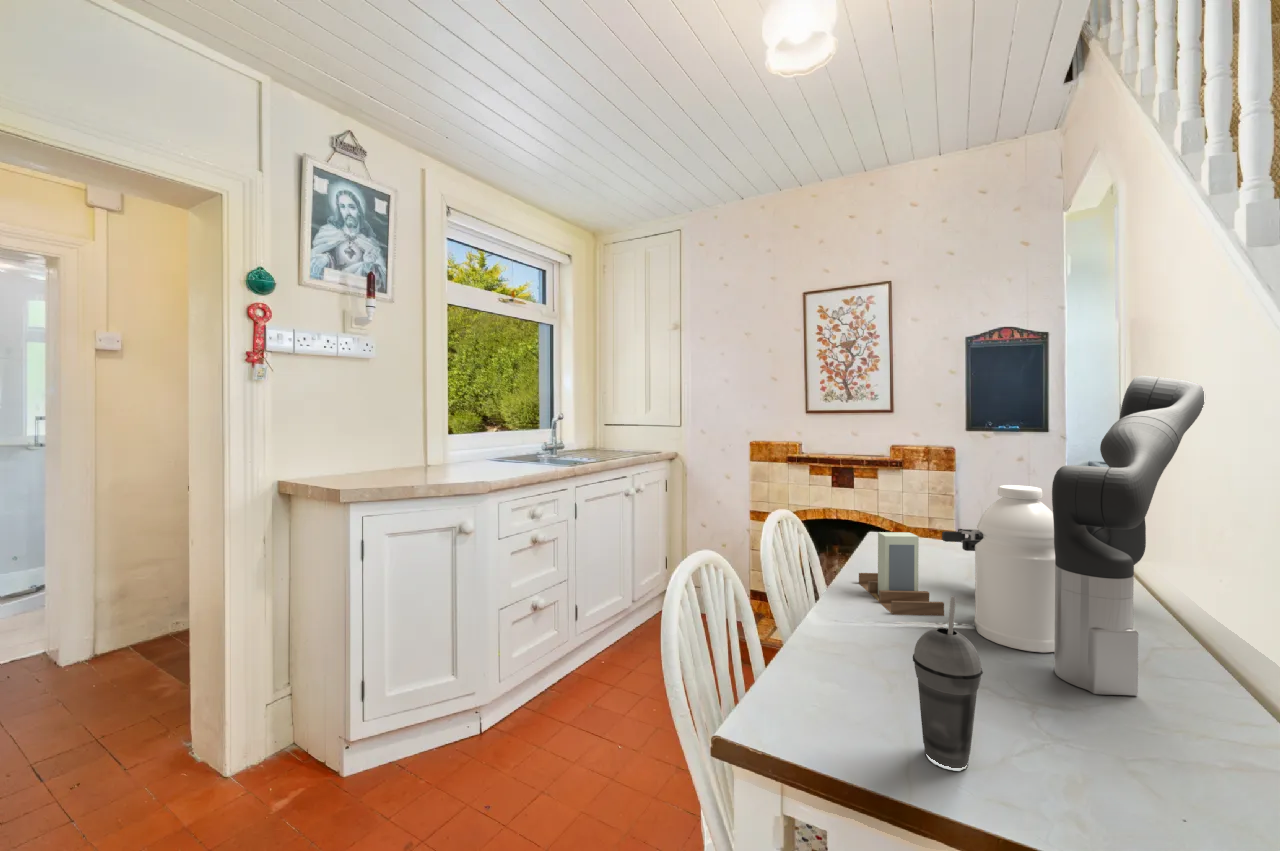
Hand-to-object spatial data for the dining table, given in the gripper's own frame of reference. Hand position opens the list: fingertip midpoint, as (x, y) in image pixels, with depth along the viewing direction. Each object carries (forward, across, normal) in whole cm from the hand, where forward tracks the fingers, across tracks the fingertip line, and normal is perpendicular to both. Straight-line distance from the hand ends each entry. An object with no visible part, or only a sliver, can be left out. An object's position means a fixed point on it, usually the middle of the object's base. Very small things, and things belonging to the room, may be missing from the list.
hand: (952, 540), depth 115 cm
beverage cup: (+28, +54, +15) cm, 62 cm away
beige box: (+11, 0, +13) cm, 17 cm away
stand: (+11, 0, +14) cm, 18 cm away
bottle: (-4, +17, +14) cm, 22 cm away
